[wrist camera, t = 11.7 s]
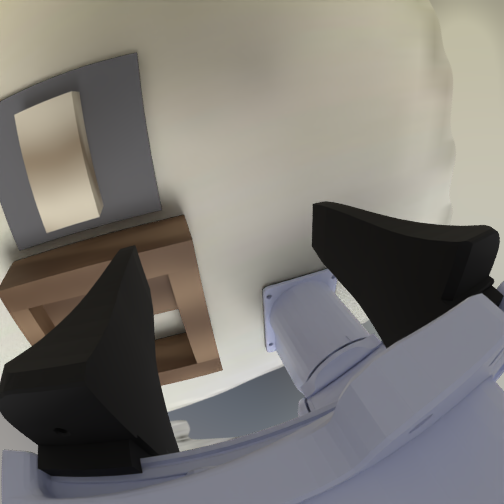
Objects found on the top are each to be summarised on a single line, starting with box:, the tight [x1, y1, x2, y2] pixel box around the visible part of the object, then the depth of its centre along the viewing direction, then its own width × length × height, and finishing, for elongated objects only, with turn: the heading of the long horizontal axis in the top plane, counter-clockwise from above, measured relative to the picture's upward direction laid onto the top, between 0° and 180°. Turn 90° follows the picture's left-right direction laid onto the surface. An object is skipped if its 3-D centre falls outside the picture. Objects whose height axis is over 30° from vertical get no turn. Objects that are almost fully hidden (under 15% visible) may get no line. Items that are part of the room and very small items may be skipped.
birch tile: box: [14, 91, 104, 233], centre depth 14 cm, size 8×4×2 cm, turn 4°
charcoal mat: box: [0, 53, 162, 251], centre depth 15 cm, size 11×12×1 cm
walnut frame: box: [0, 215, 223, 386], centre depth 21 cm, size 14×15×4 cm
